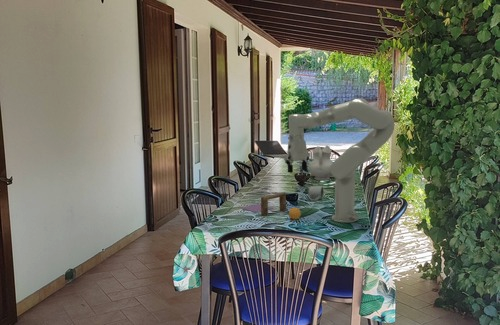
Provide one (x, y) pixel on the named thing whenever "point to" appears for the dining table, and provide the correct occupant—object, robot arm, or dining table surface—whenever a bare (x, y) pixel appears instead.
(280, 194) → the bridge
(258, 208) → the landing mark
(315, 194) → the ceramic mug
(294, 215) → the ball
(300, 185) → the dining table surface
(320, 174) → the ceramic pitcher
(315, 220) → the dining table surface
